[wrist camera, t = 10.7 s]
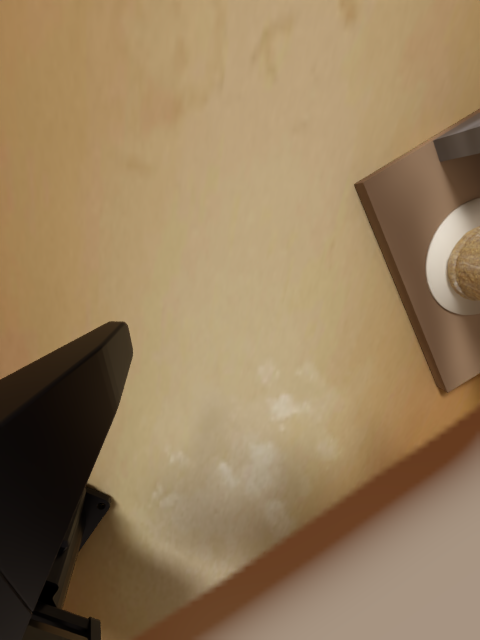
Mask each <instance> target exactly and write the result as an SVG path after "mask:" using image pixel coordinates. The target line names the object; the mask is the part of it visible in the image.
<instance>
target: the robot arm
mask: <svg viewBox="0 0 480 640" xmlns="http://www.w3.org/2000/svg"><path fill="white" fill-rule="evenodd" d="M132 357H133V347H132V342H131V338H130V333H129V328H128V325H127V324H126V323H125V322H115V321H111V322H108V323H106V324H104V325H102V326H100V327H98V328H96V329H94V330H93V331H91V332H89V333H87V334H85V335H83V336H81V337H79V338H78V339H76V340H74V341H72V342H70V343H68V344H66V345H64V346H63V347H61V348H59V349H57V350H55V351H53V352H51V353H49V354H48V355H46V356H44V357H42V358H40V359H38V360H36V361H34V362H33V363H31V364H29V365H27V366H25V367H23V368H21V369H19V370H18V371H16V372H14V373H12V374H10V375H8V376H6V377H4V378H3V379H1V380H0V640H101V628H100V620H98V619H95V618H92V617H89V618H88V619H87V618H85V617H82V616H79V615H76V614H74V613H71V612H68V611H65V610H62V608H63V604H64V600H65V597H66V593H67V590H68V586H69V583H70V579H71V576H72V572H73V569H74V565H75V561H76V558H77V554H78V552H79V551H80V549H81V548H82V546H83V545H84V544H85V542H86V541H87V539H88V538H89V536H90V535H91V534H92V532H93V531H94V529H95V528H96V526H97V525H98V524H99V522H100V521H101V519H102V518H103V516H104V515H105V514H106V512H107V511H108V509H109V507H110V503H111V499H110V497H109V496H107V495H105V494H102V493H100V492H98V491H95V490H93V489H90V488H88V487H85V486H86V484H87V481H88V479H89V477H90V474H91V472H92V469H93V467H94V465H95V462H96V460H97V457H98V455H99V453H100V450H101V448H102V445H103V443H104V441H105V438H106V436H107V433H108V431H109V429H110V426H111V424H112V421H113V419H114V417H115V414H116V411H117V409H118V406H119V403H120V400H121V396H122V392H123V389H124V385H125V382H126V378H127V375H128V371H129V368H130V364H131V361H132ZM99 503H104V504H103V505H101V504H99Z"/></svg>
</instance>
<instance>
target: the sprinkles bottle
mask: <svg viewBox="0 0 480 640" xmlns="http://www.w3.org/2000/svg"><path fill="white" fill-rule="evenodd" d="M448 278H449V282H450V284H451V287H452V288H453V289H454V291H455V292H456V293H457V294H459V295H460V296H461V297H463V298H465V299H469V300H472V301H480V226H479V227H476V228H474V229H472V230H470V231H468V232H467V233H465V234H464V235H463V237H462V238H461V239H460V240H459V241H458V242H457V244H456V245H455V247H454V248H453V250H452V252H451V255H450V257H449V261H448Z"/></svg>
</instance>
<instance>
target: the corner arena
mask: <svg viewBox="0 0 480 640" xmlns="http://www.w3.org/2000/svg"><path fill="white" fill-rule="evenodd" d="M354 185H355V187H356V190H357V192H358V195H359V197H360V200H361V202H362V204H363V207H364V209H365V212H366V214H367V217H368V219H369V221H370V224H371V226H372V229H373V231H374V234H375V236H376V238H377V241H378V243H379V246H380V248H381V251H382V253H383V255H384V258H385V260H386V263H387V265H388V268H389V270H390V273H391V275H392V277H393V280H394V282H395V285H396V287H397V290H398V292H399V294H400V297H401V299H402V302H403V304H404V307H405V309H406V311H407V314H408V316H409V319H410V321H411V324H412V326H413V328H414V331H415V333H416V336H417V338H418V341H419V343H420V345H421V348H422V350H423V353H424V355H425V358H426V360H427V363H428V365H429V367H430V370H431V372H432V375H433V377H434V380H435V382H436V384H437V386H438V387H439V388H441V389H442V390H444V391H446V392H447V393H448V392H450V391H451V390H453V389H455V388H456V387H458V386H460V385H461V384H463V383H464V382H466V381H468V380H469V379H471V378H473V377H474V376H476V375H477V374H479V373H480V301H472V300H469V299H465V298H463V297H461V296H460V295H459V294H457V293H456V292H455V291H454V289H453V288H452V287H451V284H450V282H449V278H448V261H449V257H450V255H451V252H452V250H453V248H454V247H455V245H456V244H457V242H458V241H459V240H460V239H461V238H462V237H463V235H464V234H465V233H467V232H468V231H470V230H472V229H474V228H476V227H479V226H480V109H478V110H477V111H475V112H473V113H472V114H470V115H468V116H467V117H465V118H463V119H462V120H460V121H458V122H457V123H455V124H453V125H452V126H450V127H448V128H447V129H445V130H443V131H442V132H440V133H438V134H437V135H435V136H434V137H432V138H430V139H429V140H427V141H425V142H424V143H422V144H420V145H419V146H417V147H415V148H414V149H412V150H410V151H409V152H407V153H405V154H404V155H402V156H400V157H399V158H397V159H395V160H394V161H392V162H390V163H389V164H387V165H385V166H384V167H382V168H380V169H379V170H377V171H375V172H374V173H372V174H370V175H369V176H367V177H365V178H364V179H362V180H360V181H359V182H357V183H355V184H354Z"/></svg>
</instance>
